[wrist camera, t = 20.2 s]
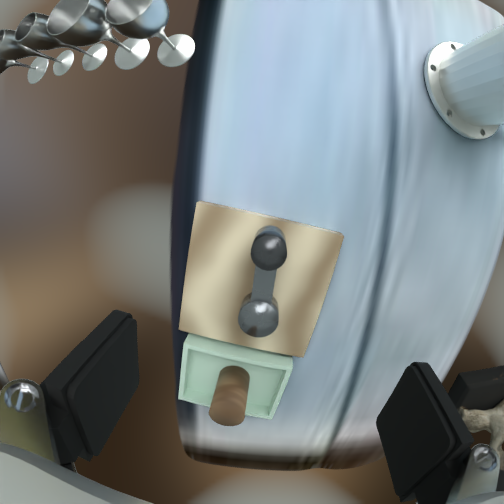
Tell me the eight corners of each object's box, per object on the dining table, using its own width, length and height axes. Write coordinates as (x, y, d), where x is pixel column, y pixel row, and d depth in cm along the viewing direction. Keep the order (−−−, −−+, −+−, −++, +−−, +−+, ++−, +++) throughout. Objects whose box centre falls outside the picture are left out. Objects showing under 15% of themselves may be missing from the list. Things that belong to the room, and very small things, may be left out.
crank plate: (340, 232, 29) (344, 236, 28) (302, 350, 34) (303, 357, 32) (200, 200, 30) (196, 202, 28) (182, 323, 34) (178, 329, 33)
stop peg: (252, 369, 35) (247, 408, 28) (246, 390, 36) (240, 428, 29) (221, 362, 35) (211, 400, 28) (217, 384, 36) (207, 421, 29)
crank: (275, 326, 31) (274, 361, 25) (239, 321, 31) (231, 355, 25) (292, 223, 28) (297, 239, 22) (251, 218, 28) (244, 232, 22)
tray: (292, 355, 34) (293, 367, 32) (272, 407, 37) (271, 419, 35) (189, 332, 34) (183, 343, 32) (183, 387, 37) (178, 398, 35)
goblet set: (201, 29, 24) (160, -36, 12) (190, 73, 26) (137, 21, 13) (31, 55, 25) (-30, 39, 12) (22, 89, 27) (-43, 81, 14)
